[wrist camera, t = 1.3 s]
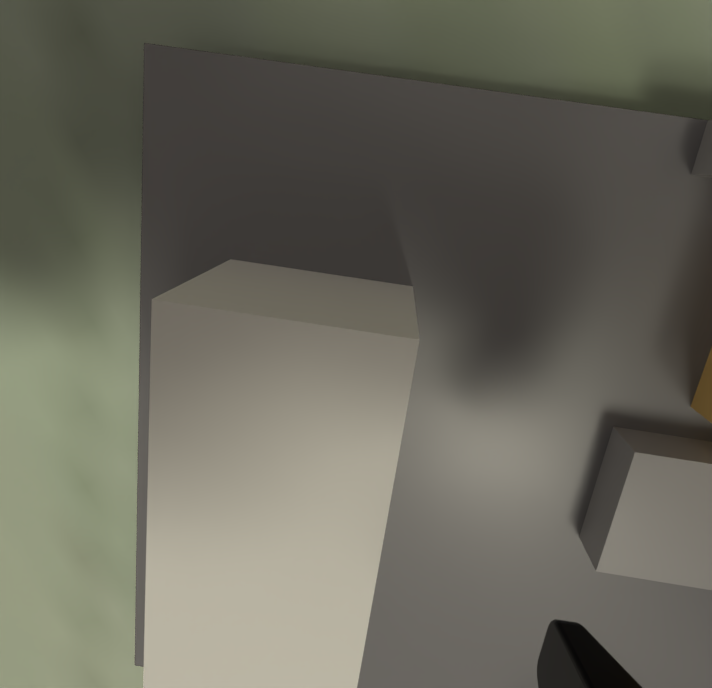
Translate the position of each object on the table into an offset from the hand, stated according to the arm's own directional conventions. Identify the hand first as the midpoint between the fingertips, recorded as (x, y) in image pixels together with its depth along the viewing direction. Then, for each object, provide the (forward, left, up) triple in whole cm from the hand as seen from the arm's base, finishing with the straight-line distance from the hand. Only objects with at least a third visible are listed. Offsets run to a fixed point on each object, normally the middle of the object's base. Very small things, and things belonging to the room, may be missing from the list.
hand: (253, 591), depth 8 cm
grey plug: (0, 0, -5) cm, 5 cm away
